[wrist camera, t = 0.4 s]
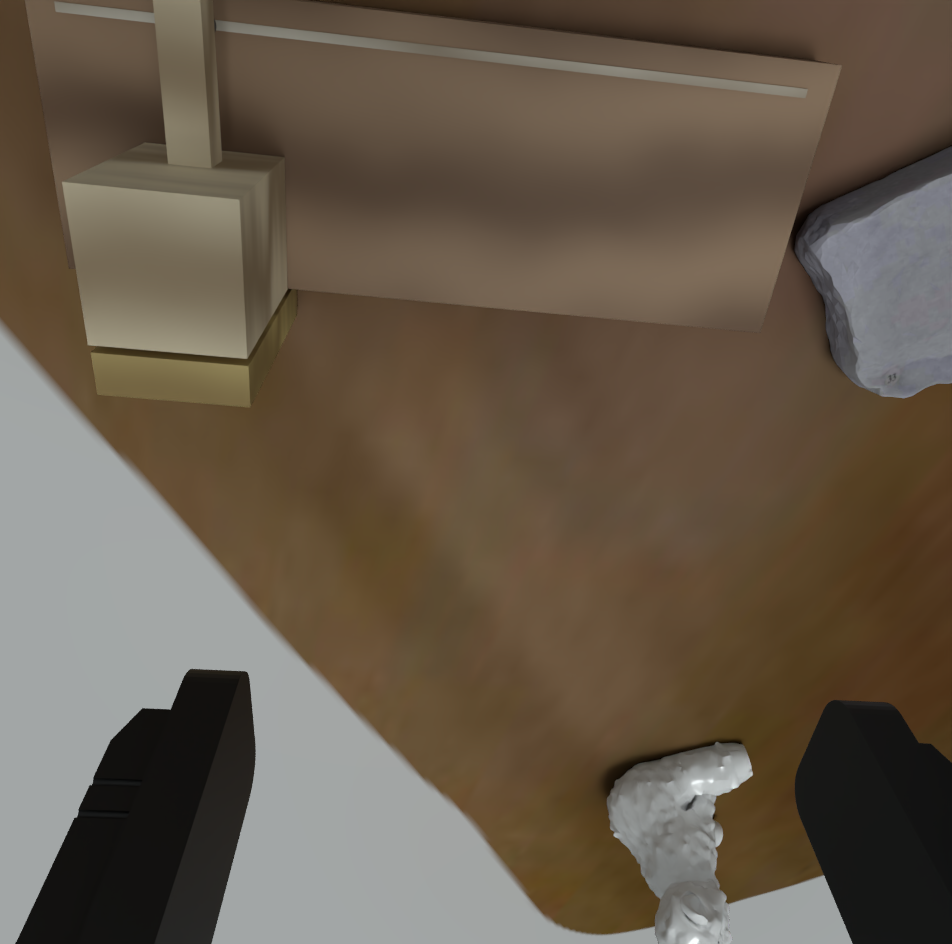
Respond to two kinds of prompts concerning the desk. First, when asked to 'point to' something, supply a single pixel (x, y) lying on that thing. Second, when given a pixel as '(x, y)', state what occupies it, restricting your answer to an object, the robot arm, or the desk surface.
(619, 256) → the board
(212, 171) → the wooden mallet
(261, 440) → the desk surface
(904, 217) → the stone block
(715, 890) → the seated beast figurine
